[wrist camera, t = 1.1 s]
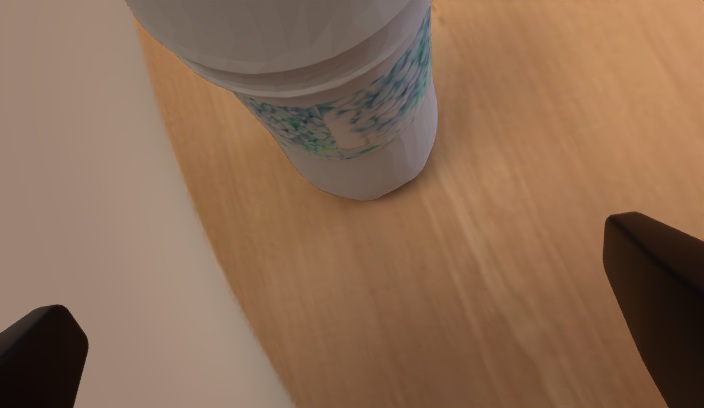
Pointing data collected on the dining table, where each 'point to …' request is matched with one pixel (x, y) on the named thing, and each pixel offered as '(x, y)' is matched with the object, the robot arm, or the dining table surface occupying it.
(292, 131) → the bottle
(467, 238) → the dining table surface
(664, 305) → the robot arm
